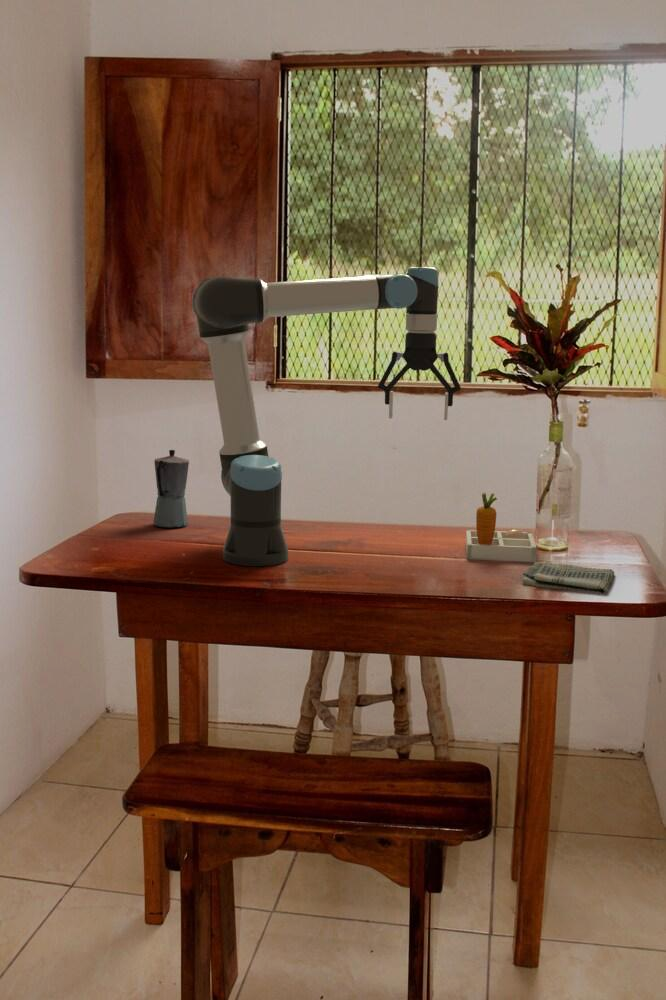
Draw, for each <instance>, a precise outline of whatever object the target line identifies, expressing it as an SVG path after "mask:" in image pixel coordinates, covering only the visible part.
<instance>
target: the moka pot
mask: <svg viewBox="0 0 666 1000" xmlns="http://www.w3.org/2000/svg"><path fill="white" fill-rule="evenodd" d="M168 452H169V455H167V456H163V457H158V458H155V459H154V471H155V479H156V481H155V482H156V490H157V498H156V503H155V510H154V516H153V525H154V526H155V527H161V528H181V527H186V526H188V524H189V521H188V513H187V504H186V497H185V496H186V489H187V481H188V472H189V465H190V460H189V459H186V458H182V457H179V456H175V453H176V450H175V449H170V450H168Z"/></svg>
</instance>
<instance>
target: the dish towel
mask: <svg viewBox="0 0 666 1000" xmlns="http://www.w3.org/2000/svg"><path fill="white" fill-rule="evenodd" d="M522 575H523V576H524V577H523V579H522V584H521V585H522V586H529V587H530V586H531V587H538V588H548V589H555V590H563V591H564V590H567V591H573V592H581V593H588V594H589V593H591V594H596V595H606V594H607V593H608V590H609V589H610V587H611V584H612V581H613V580H614V577H615V571H614V569H612V568H611V569H609V568H595V567H594V568H593V567H585V566H580V565H573V564H563V563H562V564H561V563H555V562H554V563H553V562H550V561H546V560H544V561H543V562H541V561H536V562H533V565H532V566H530V567H529V568H528V569H527V570H526V571H524V572H523V574H522Z"/></svg>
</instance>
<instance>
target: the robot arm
mask: <svg viewBox="0 0 666 1000" xmlns="http://www.w3.org/2000/svg"><path fill="white" fill-rule="evenodd" d="M439 289H440V287H439V272H438V269H437V268H436V267H428V266H422V267H421V266H420V267H419V266H417V267H416V266H412V267H408V268H407V273H406V274H404V273H394V274H375V273H371V274H362V275H361V276H353V277H337V278H336V277H334V278H321V279H307V280H305V279H304V280H292V281H289V280H287V281H278V282H277V281H276V282H265V281H263V280H262V279H261V278H236V277H229V276H223V275H220V276H219V275H218V276H217V275H216V276H215V275H214V276H212V277H208V278H206V279H204V280H202V282H201V283H199V284H198V286H196V289H195V290H194V293H193V296H192V309H193V312H194V314H195V316H196V321H197V326H198V327H197V328H198V332H199V338H200V340H202V341H203V342H204V343H206V345H207V347H208V354H209V359H210V360H209V361H210V365H211V372H212V378H213V384H214V390H215V391H214V392H215V396H216V401H217V408H218V415H219V421H220V425H221V426H220V427H221V433H222V439H223V445H222V446H221V448H220V449H219V451H218V454H219V459H220V466H221V471H220V473H221V475H220V477H221V483H222V486H223V488H224V491H226V493H227V494H228V495H229V497H230V526H229V527H230V528H229V531H228V534H227V537H226V540H225V543H224V546H223V549H222V559H223V561H225V562H226V563H229V564H231V565H235V566H242V567H243V566H244V567H267V566H274V565H279V564H283V563H285V562H287V561H288V560H289V548H288V547H289V546H288V544H287V541H286V539H285V535H284V531H283V529H282V479H283V471H282V466H281V463H280V462H279V460H277V459H276V458H274V457H270V456H269V451H268V445H267V443H266V442H264V441H263V440H262V439H261V438H260V433H259V427H258V423H257V415H256V409H255V407H256V406H255V402H254V396H253V389H252V382H251V375H250V370H249V363H248V357H247V351H246V350H247V349H246V345H245V340H246V339H245V338H246V337H247V336H248V334H249V333H250V328H249V327H250V326H249V324H258V323H259V324H260V323H264V322H266V320H267V319H268V318H275V317H277V318H278V317H289V316H290V317H291V316H303V315H316V314H330V313H343V312H345V313H346V312H356V311H367V310H369V311H370V310H385V309H386V310H387V309H395V310H396V309H397V310H398V309H399V310H400V309H406V310H405V311H406V312H405V313H406V314H405V330H406V331H407V332H406V333H405V339H404V341H405V345H404V351H403V352H400V351H396V350H394V351H393V352H392V354H391V358H390V359H391V360H390V362H389V364H388V366H387V367H386V369H385V372H384V374H383V375H382V377H381V379H380V381H379V383H378V385H377V388H378V389H380V390H382V391H384V404H385V405H387V406H388V419H393V413H394V412H393V410H394V409H393V408H394V390H392V388H393V387H394V386H395V385H396V384H397V383H398V382H399V381H400V379H401V378H402V377H403V376H404V375H405V374H406V373H407V372H408V371H409V369H410V370H412V371H419V370H420V371H423V372H424V371H428V370H430V371H431V372H432V374H433V375H434V376H435V377H436V378H437V380H438V381H439V382H440V383H441V385H442V386H443V388H444V389H445V390H446V391H447V392H445V393H444V412H443V413H444V417H443V420H444V421H448V412H449V411H448V408H449V407H452V406H453V404H454V403H453V402H454V393H457V392H459V391H461V385H460V383H459V380H458V379H457V377H456V375H455V374H456V373H455V372H454V370H453V368H452V365H451V363H450V360H449V359H450V358H449V353H448V352H447V351H446V352H441V353H438V352H437V334H436V333H435V331H437V329H438V327H437V325H438V323H437V322H438V301H439V299H438V298H439ZM401 358H403V360H404V361H405V363H406V364H405V365H404V366H403V367H402V368H401V370H400V371H399V372H398V373H397V374H396V375H395V376H394V377H393V378H392V380H391V381H390V382H389V383H388V384H387V385H386V382H387V380H388V378H389V377H390V375H391V373H392V370H393V368H394V367H395V365H396V363H397V362H398V361H400V360H401ZM438 359H439V360H440V362H441V363H443V364H444V366H445V369H446V371H447V373H448V375H449V378H450V380H451V382H452V384H453V386H451V384H450V383H449V382H448V380H447V379H446V378H445V377H444V376H443V374H442V373H441V372H440V371H439V369H438V368H437V367H436V365H435V364H434V363H435V362H436V361H437V360H438Z"/></svg>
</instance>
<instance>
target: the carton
mask: <svg viewBox="0 0 666 1000" xmlns="http://www.w3.org/2000/svg"><path fill="white" fill-rule="evenodd" d="M476 532H477V529H466V530H465V551H466V560H470V561H471V560H473V561H493V562H494V561H495V562H499V561H500V562H520V563H535V562H537V545H536V541H535V539H534V536H533V533H532V532H530V531H529V532H526V531H521V532H522V533H523V534H524V539H510V538H505V537H506V534H507V533H508V532H509V531H504V530H503V531H502V530H495V532H494V536H493V540H492V543H491V545H480V544H479V542H478V537H475V533H476Z"/></svg>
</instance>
